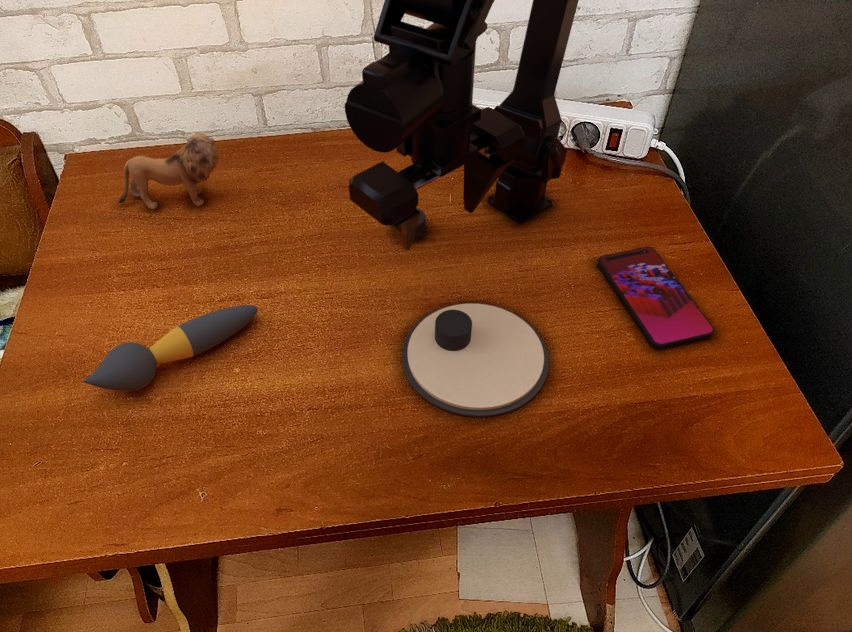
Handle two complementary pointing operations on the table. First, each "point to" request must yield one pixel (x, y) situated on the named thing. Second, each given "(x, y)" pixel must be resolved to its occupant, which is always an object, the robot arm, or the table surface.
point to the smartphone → (655, 298)
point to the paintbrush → (168, 349)
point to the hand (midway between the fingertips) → (438, 229)
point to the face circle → (477, 363)
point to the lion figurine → (173, 169)
